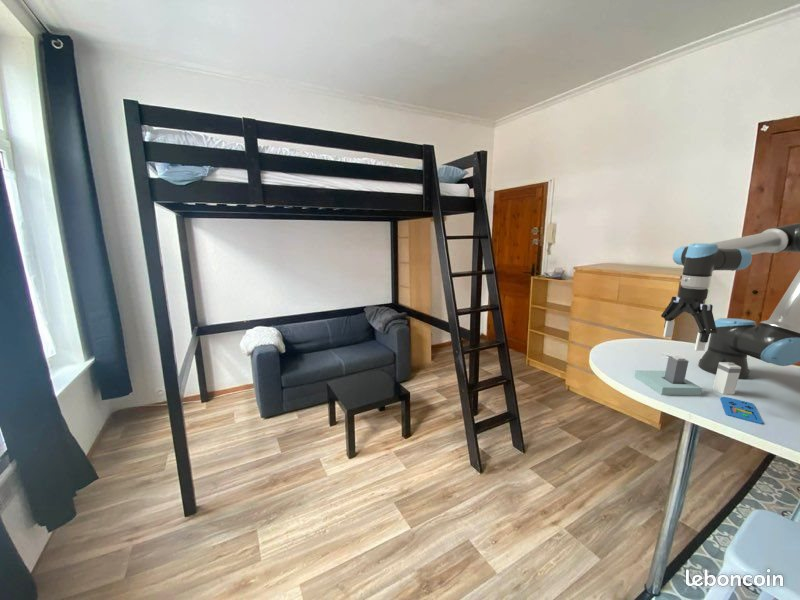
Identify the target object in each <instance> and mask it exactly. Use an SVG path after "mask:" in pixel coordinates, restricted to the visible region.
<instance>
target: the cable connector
mask: <svg viewBox="0 0 800 600" xmlns="http://www.w3.org/2000/svg"><path fill="white" fill-rule="evenodd" d="M717 368H718V369H717V373H716V374H715V377H714V381H713V384H712V385H713V386H712V390H714V391H716V392H717V393H720V394H721V395H735V392H736V388H737V385H738V381H739V379H740V378H739V374H740V371H741V367H740V366H738V365H735V364H734V363H730V362H719V364H718V367H717Z"/></svg>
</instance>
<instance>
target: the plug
mask: <svg viewBox="0 0 800 600" xmlns="http://www.w3.org/2000/svg"><path fill="white" fill-rule="evenodd" d="M688 365H689V360H688V359H686V358H685V357H682V356H680V355H672V356H668V359H667V364H666V368H665V371H666V372H665V377H664V379H665V380H667V381H668V382H670V383H672V384H684V380H685V379H686V375H687V371H688Z"/></svg>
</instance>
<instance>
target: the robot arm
mask: <svg viewBox="0 0 800 600" xmlns="http://www.w3.org/2000/svg"><path fill="white" fill-rule="evenodd" d="M783 252H784V253H800V222H797V223H791V224H787V225H782V226H778V227H777V226H776V227H772V228H767V229H765V230H764V231H762V232H760V233H756V234H755V233H754V234H751V235H746V236H741V237H736V238H735V237H734V238H730V239H725V240H720V241H716V242H710V243H708V242H707V243H705V242H703V243H699V242H697V243H691V244H689V245H687V246H683V245H682V246H680V247H677V248H676V249H675V250H674V251H673V253H672V261H673V263H675V264H677V265H679V266H683V271H682V275H681V279H680V280H681V282H680V286H679V288H678V294H677V295H678V296H672V297H671V300H670V302H669V303H668V305H667V307H665V309H664V311H663V312H662V313H661V315H660V317H661V318H663V319H664V321H665V322H664V327H663V328H664V331H663V338H672V337H673V333H674V328H675V324H676V322H675V319H676V318H677V317H678V316H680V315H681V314H682V313H687V314H690V316H692V317H693V318H694V320H695V323H696V325H697V327H698V329H699V332H697V336H696V341H695V346H694V351H697V352H698V351H702V352H703V351H705V350H706V344H707V343H708V346H707V350H706V351H705V353H704V354H703V355H702V357H701V358H700V359H699V360H698V365H697V366H698V368H700V369H702V370H704V371H706V372H708V373H711V374H714V375H716V373H717V369H718V368H717V367H718V364H719V362H730V363H734V364H735V365H738V366H740V367H741V371H740V374H739V378H738V379H747V378H749V376H750V372H751V371H750V368H749V363H748V356H749V357H751V358H755V359H757V360H760V361H762V362H764V363H768V364H772V365H775V366H779V367H789V366H792V365H795V364H797V363H799V362H800V269H799V270H798V272H797V273H796V275H795V276H794V278H793V280H792V282H791V283H790V285H789V286H788V287H787V290H786V291H785V293H784V294H783V296H782V298H781V299H780V301H779V302H778V304H777V305H776V307H775V309H774V310H773V311H772V314H771V315H770V317H769V318H768V319H767V320H763V321H760V322H759V323H758V326H757V322H756V321H754V320H750V319H745V318H744V319H743V318H727V317H723V318H722V317H721V318H717V319H715V318H714V313H713V307H714V305H713V304H710V303H708V304H705V303H704V301H705V300H706V299H708V293H709V289H708V288H710V285H711V280H712V276H713V271H732V272H733V271H740V270H741V271H742V270H745V269H747V268H748V267H749V266H750V265H751V263H752V261H753V255H758V254H763V253H770V254H775V253H783Z"/></svg>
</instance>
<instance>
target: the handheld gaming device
mask: <svg viewBox="0 0 800 600" xmlns="http://www.w3.org/2000/svg"><path fill="white" fill-rule="evenodd" d="M719 400H720V402H721V405H722V408H723V411H724V413H725V415H726V416H729V417H732V418H734V419H739V420H744V421H746V422H750V423H755V424H759V425H764V421H763V420H762V417H761V415H760V414H759V412H758V410H757V408H756V406H755V405H754V403H753V402H750V401H745V400H741V399H737V398H732V397H728V396H721V397H720V398H719Z"/></svg>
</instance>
